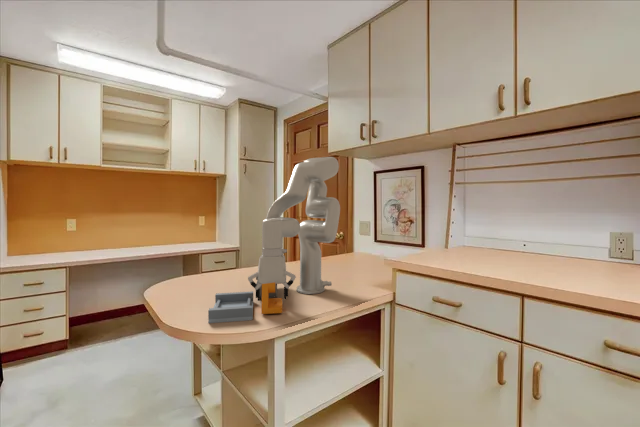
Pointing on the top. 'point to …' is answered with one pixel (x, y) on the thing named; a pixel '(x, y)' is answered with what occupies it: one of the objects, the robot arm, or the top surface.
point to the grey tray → (231, 307)
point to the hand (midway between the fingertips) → (271, 298)
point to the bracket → (270, 300)
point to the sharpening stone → (269, 293)
